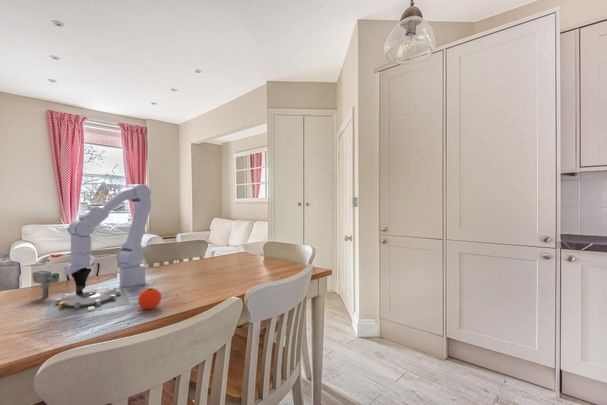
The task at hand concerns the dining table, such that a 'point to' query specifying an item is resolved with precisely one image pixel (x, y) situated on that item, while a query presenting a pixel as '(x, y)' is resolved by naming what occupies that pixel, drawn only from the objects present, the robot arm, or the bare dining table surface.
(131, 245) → the robot arm
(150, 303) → the clementine
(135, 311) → the dining table surface
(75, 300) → the sprocket
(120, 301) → the index board
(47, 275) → the mechanical component
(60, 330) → the dining table surface
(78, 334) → the dining table surface
